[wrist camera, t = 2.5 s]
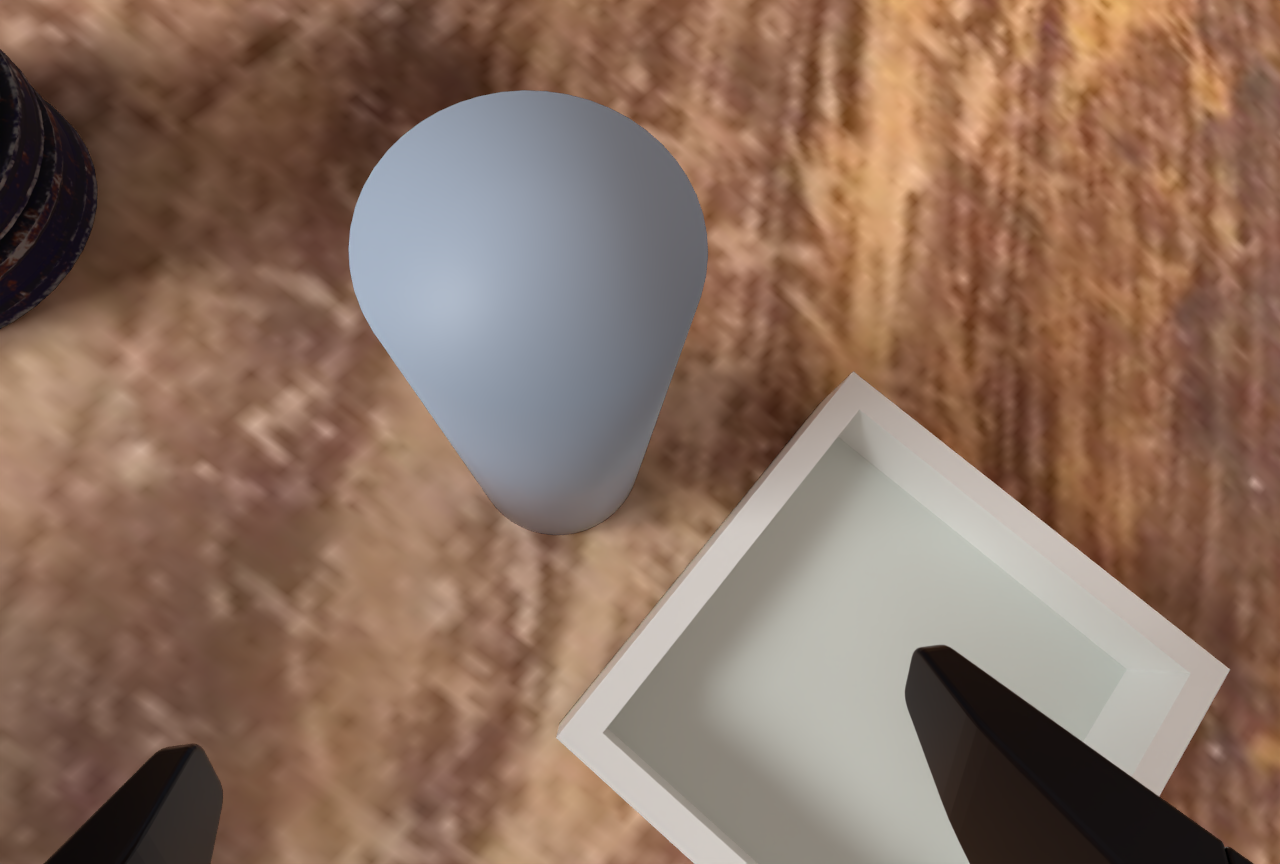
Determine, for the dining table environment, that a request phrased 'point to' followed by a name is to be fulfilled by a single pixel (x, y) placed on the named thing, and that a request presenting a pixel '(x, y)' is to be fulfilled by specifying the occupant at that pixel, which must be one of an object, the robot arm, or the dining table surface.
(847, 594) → the shallow square tray
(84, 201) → the storage jar
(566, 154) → the slate capsule
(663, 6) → the dining table surface
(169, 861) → the robot arm
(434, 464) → the dining table surface
